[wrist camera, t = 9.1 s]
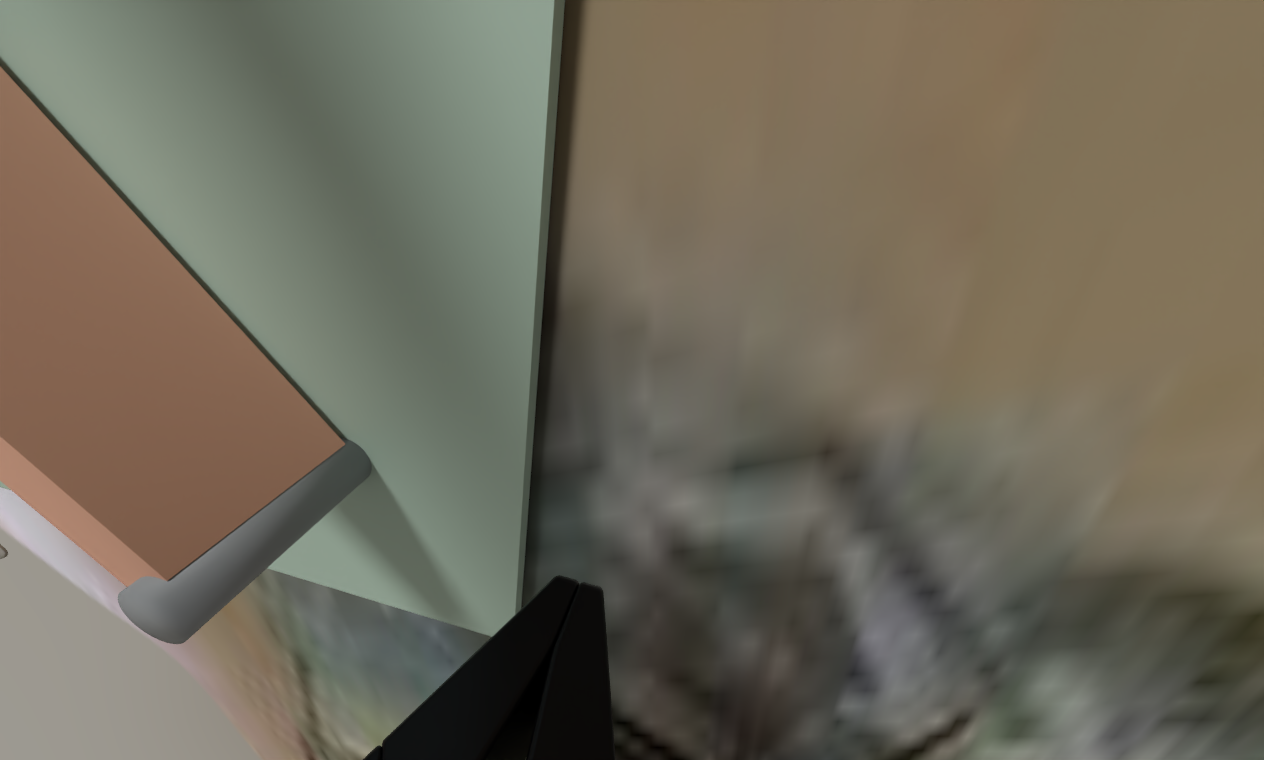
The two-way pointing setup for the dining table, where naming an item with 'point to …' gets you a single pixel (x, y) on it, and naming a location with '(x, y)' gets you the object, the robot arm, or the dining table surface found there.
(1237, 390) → the dining table surface
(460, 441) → the card
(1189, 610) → the dining table surface
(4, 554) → the bull figurine
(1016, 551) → the dining table surface
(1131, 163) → the dining table surface
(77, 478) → the salmon brown flat block
